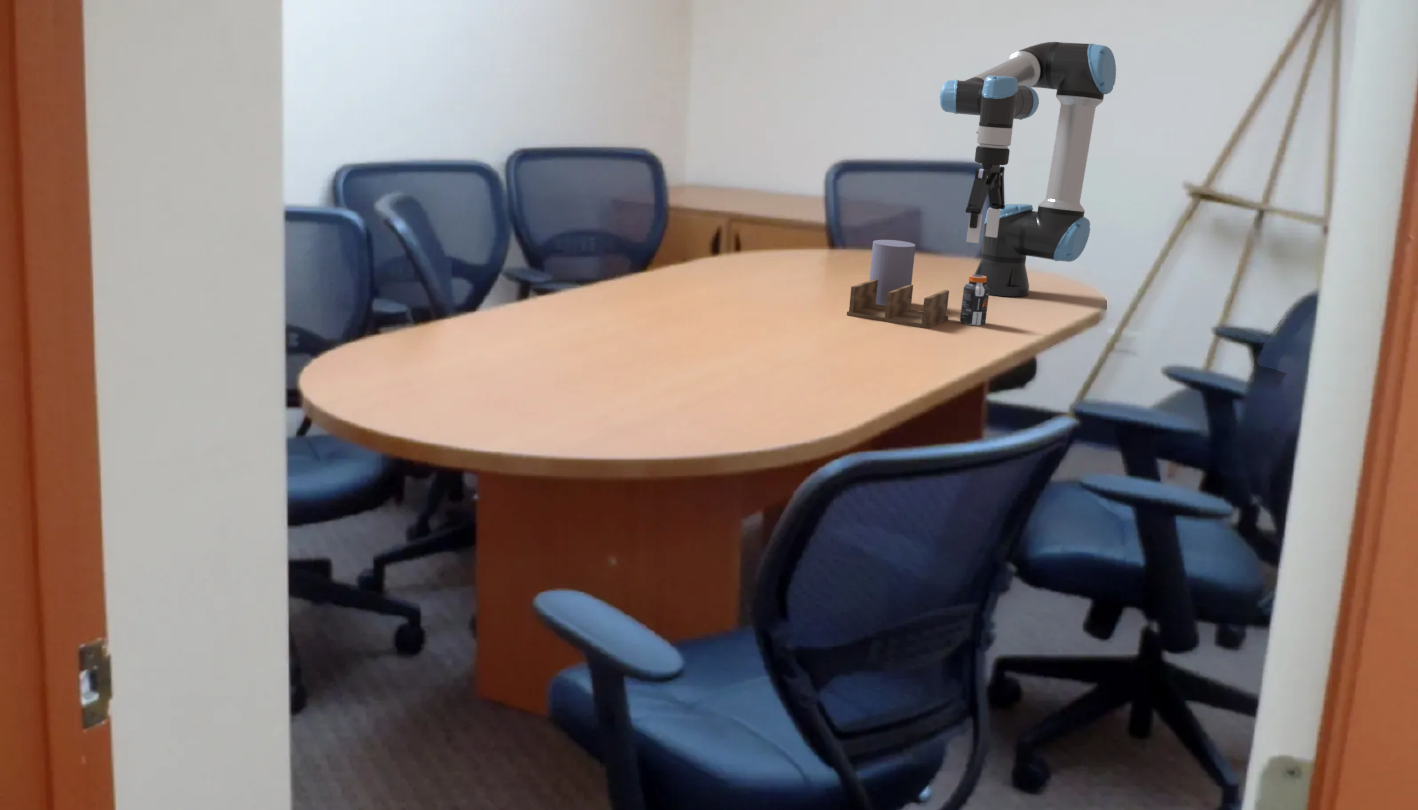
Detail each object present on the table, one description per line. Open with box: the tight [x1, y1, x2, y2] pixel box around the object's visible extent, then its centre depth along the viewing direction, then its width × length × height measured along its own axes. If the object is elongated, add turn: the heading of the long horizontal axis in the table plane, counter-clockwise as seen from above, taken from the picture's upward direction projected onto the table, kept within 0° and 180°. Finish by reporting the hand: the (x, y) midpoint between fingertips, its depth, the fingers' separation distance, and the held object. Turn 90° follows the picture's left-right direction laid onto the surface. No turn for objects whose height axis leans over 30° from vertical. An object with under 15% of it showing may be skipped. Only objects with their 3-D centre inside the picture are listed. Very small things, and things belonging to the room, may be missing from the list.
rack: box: [846, 279, 950, 329], centre depth 317 cm, size 14×20×7 cm
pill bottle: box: [959, 274, 990, 326], centre depth 315 cm, size 6×6×11 cm
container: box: [868, 239, 916, 306], centre depth 332 cm, size 10×10×15 cm
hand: (981, 239), depth 311 cm, fingers open, 13 cm apart
